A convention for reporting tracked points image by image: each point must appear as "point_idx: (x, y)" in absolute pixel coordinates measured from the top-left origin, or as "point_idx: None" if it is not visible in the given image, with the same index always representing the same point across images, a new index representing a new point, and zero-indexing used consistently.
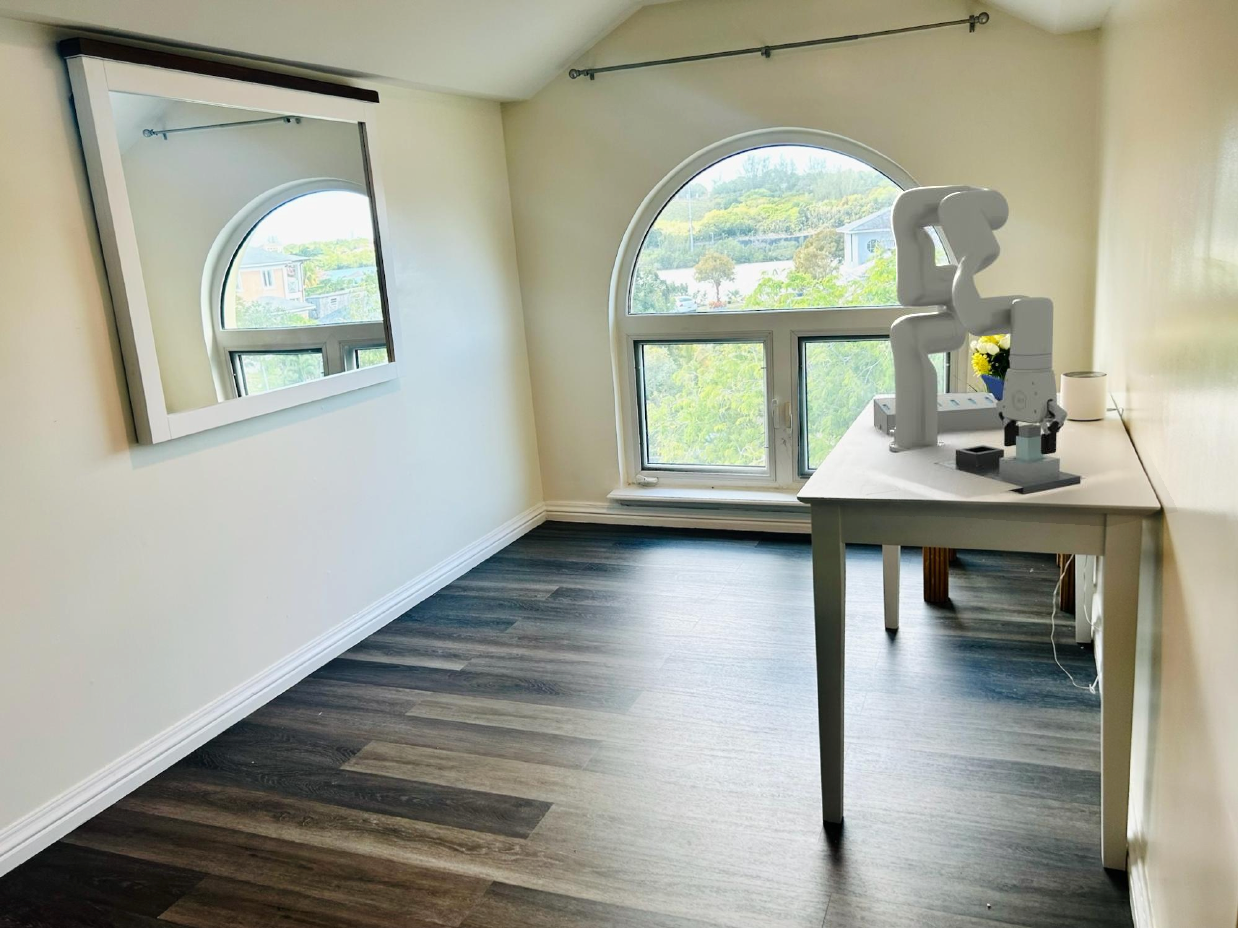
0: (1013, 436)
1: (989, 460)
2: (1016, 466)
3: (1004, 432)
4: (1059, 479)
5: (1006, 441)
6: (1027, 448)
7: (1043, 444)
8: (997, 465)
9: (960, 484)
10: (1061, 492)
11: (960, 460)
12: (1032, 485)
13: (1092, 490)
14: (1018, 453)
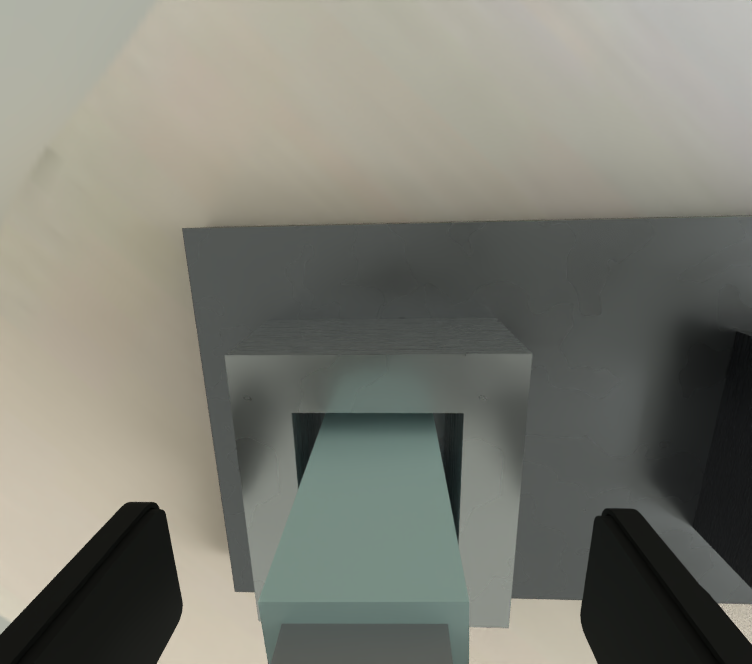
0: (635, 662)
1: (743, 452)
2: (338, 344)
3: (743, 644)
4: (229, 485)
5: (631, 546)
6: (296, 507)
7: (57, 575)
8: (689, 475)
9: (615, 91)
10: (158, 401)
11: None
12: (193, 297)
13: None
14: (411, 462)
